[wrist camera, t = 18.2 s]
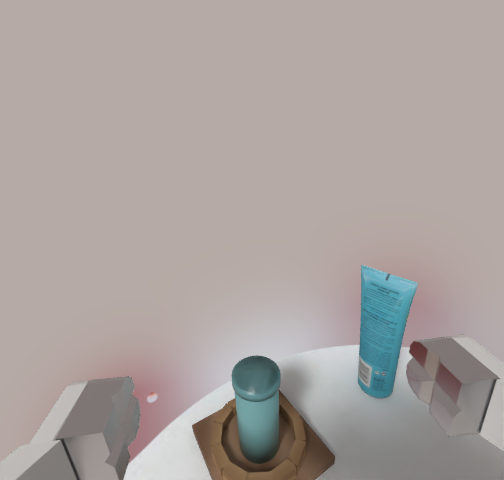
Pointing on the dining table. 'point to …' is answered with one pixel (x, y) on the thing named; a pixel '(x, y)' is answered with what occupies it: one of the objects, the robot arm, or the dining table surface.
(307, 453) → the collar base
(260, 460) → the teal rimmed peg
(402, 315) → the tube
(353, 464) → the dining table surface
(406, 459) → the dining table surface
